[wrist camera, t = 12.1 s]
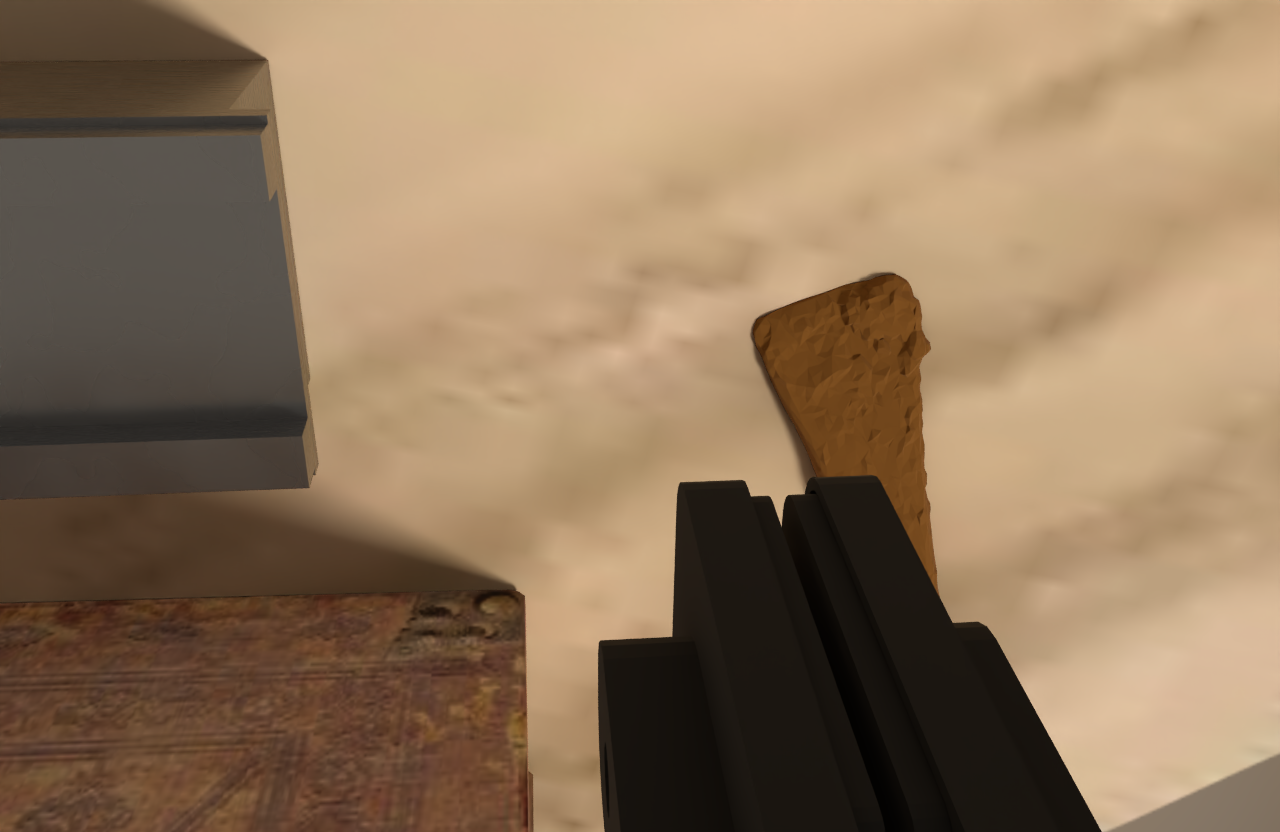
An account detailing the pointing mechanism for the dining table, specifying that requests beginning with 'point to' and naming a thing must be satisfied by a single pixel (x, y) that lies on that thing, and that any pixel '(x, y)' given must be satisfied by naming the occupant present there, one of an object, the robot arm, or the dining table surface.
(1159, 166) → the dining table surface
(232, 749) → the book
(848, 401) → the primitive tool
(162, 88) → the grey block holder
